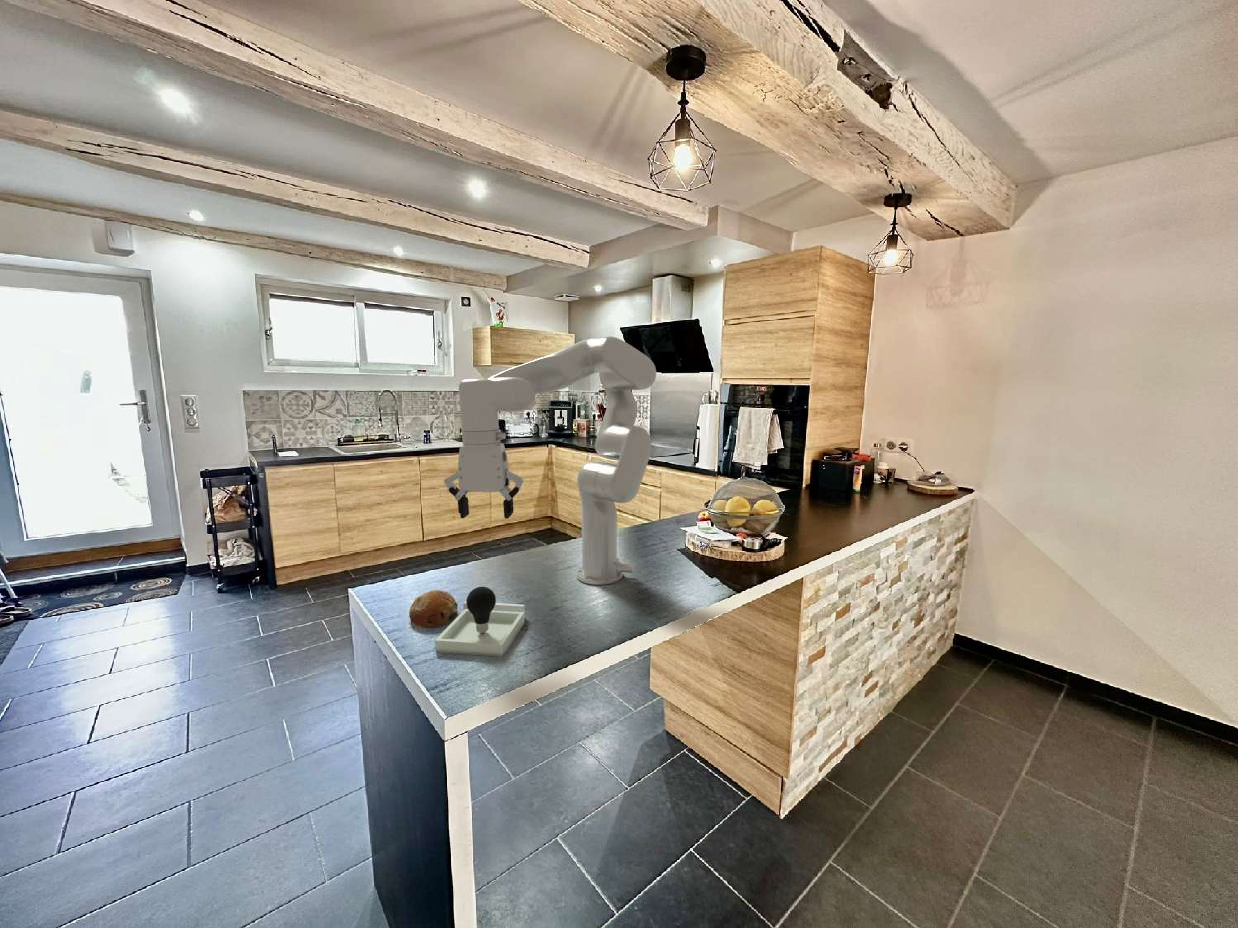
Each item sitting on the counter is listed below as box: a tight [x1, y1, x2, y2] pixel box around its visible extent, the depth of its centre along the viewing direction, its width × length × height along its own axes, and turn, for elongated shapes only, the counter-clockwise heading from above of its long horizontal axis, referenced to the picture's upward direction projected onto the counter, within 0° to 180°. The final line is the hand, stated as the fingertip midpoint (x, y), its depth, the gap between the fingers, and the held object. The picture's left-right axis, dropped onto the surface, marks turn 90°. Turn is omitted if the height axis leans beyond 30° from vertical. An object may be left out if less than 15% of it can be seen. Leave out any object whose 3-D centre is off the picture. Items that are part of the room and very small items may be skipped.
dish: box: [434, 608, 526, 658], centre depth 100 cm, size 14×14×2 cm
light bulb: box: [466, 586, 497, 634], centre depth 100 cm, size 6×6×10 cm
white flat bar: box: [462, 601, 526, 618], centre depth 109 cm, size 14×1×3 cm, turn 83°
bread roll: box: [408, 589, 459, 629], centre depth 109 cm, size 10×10×8 cm
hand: (486, 516), depth 105 cm, fingers open, 9 cm apart
